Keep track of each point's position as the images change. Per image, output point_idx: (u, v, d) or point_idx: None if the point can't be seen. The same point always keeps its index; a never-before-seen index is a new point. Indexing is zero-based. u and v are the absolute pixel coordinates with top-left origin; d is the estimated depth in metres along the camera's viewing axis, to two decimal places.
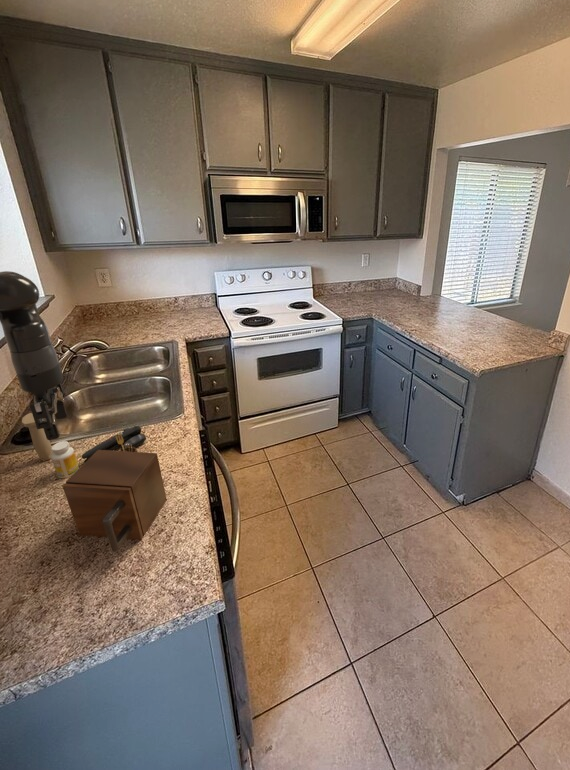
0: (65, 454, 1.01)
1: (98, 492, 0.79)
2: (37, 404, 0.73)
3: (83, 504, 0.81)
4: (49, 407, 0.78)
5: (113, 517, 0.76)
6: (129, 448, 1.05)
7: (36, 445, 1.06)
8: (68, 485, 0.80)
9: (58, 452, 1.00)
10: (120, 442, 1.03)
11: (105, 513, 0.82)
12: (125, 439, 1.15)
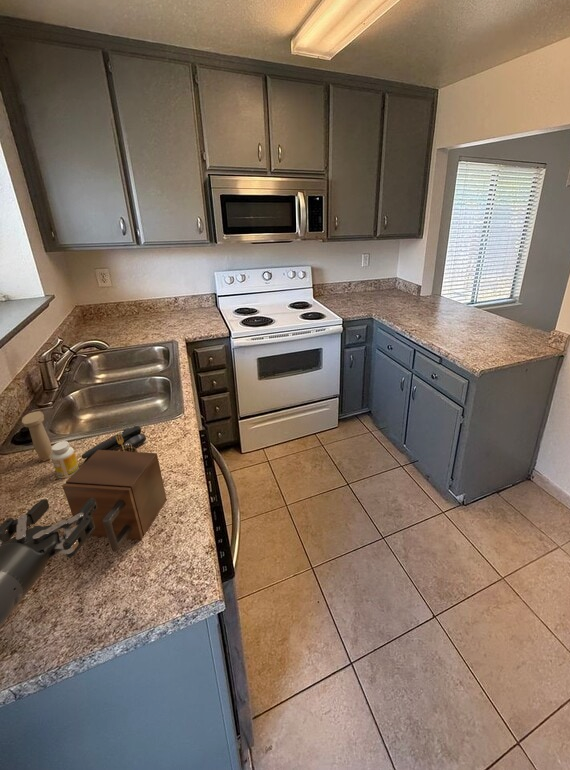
0: (65, 454, 1.01)
1: (98, 492, 0.79)
2: None
3: (83, 504, 0.81)
4: None
5: (113, 517, 0.76)
6: (129, 448, 1.05)
7: (36, 445, 1.06)
8: (68, 485, 0.80)
9: (58, 452, 1.00)
10: (120, 442, 1.03)
11: (105, 513, 0.82)
12: (125, 439, 1.15)
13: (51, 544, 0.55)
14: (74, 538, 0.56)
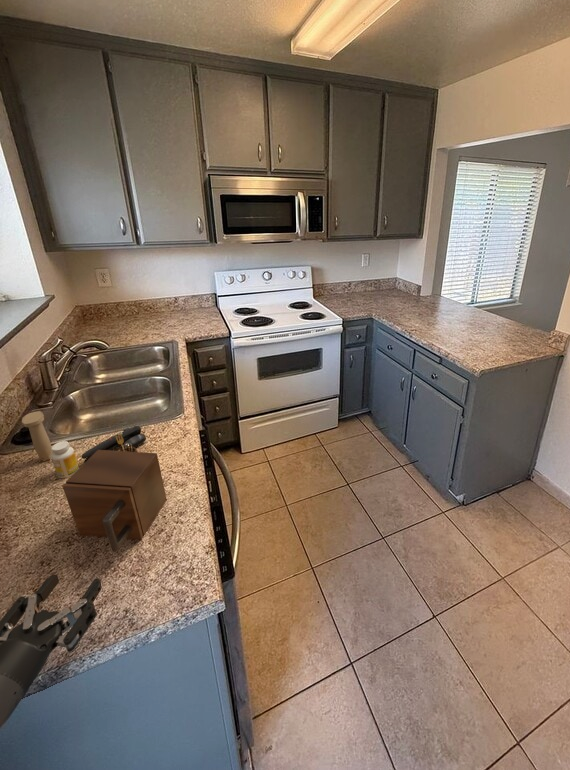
0: (65, 454, 1.01)
1: (98, 492, 0.79)
2: None
3: (83, 504, 0.81)
4: None
5: (113, 517, 0.76)
6: (129, 448, 1.05)
7: (36, 445, 1.06)
8: (68, 485, 0.80)
9: (58, 452, 1.00)
10: (120, 442, 1.03)
11: (105, 513, 0.82)
12: (125, 439, 1.15)
13: (53, 637, 0.58)
14: (74, 633, 0.58)
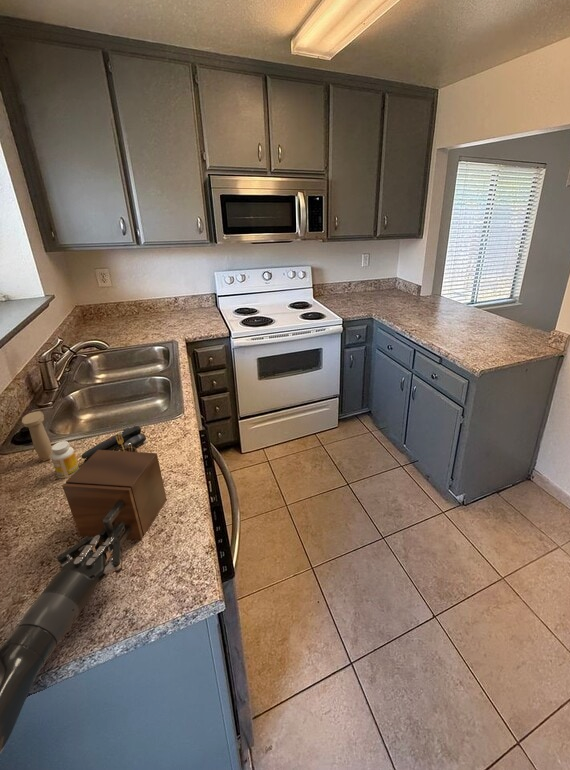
0: (65, 454, 1.01)
1: (98, 492, 0.79)
2: None
3: (83, 504, 0.81)
4: None
5: (113, 517, 0.76)
6: (129, 448, 1.05)
7: (36, 445, 1.06)
8: (68, 485, 0.80)
9: (58, 452, 1.00)
10: (120, 442, 1.03)
11: (105, 513, 0.82)
12: (125, 439, 1.15)
13: (100, 570, 0.68)
14: (119, 557, 0.71)
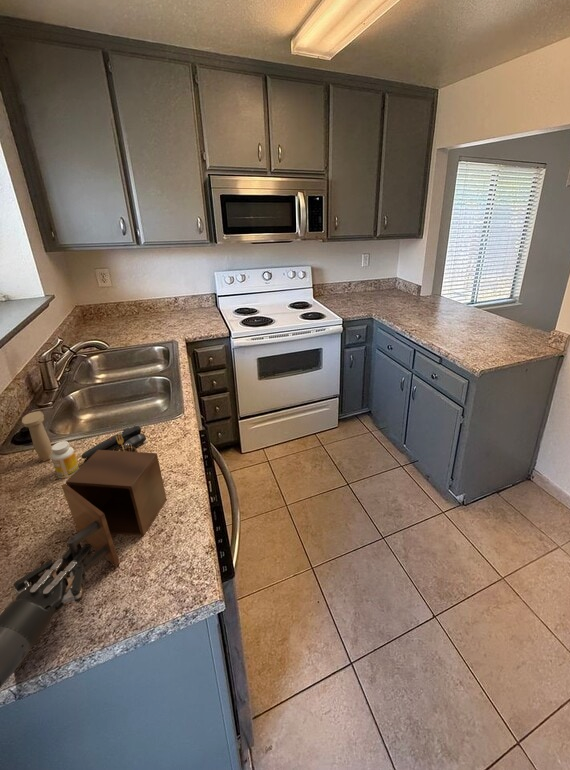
0: (65, 454, 1.01)
1: (82, 505, 0.76)
2: None
3: (76, 509, 0.80)
4: None
5: (79, 540, 0.71)
6: (129, 448, 1.05)
7: (36, 445, 1.06)
8: (65, 487, 0.79)
9: (58, 452, 1.00)
10: (120, 442, 1.03)
11: None
12: (125, 439, 1.15)
13: (57, 600, 0.63)
14: (79, 584, 0.66)
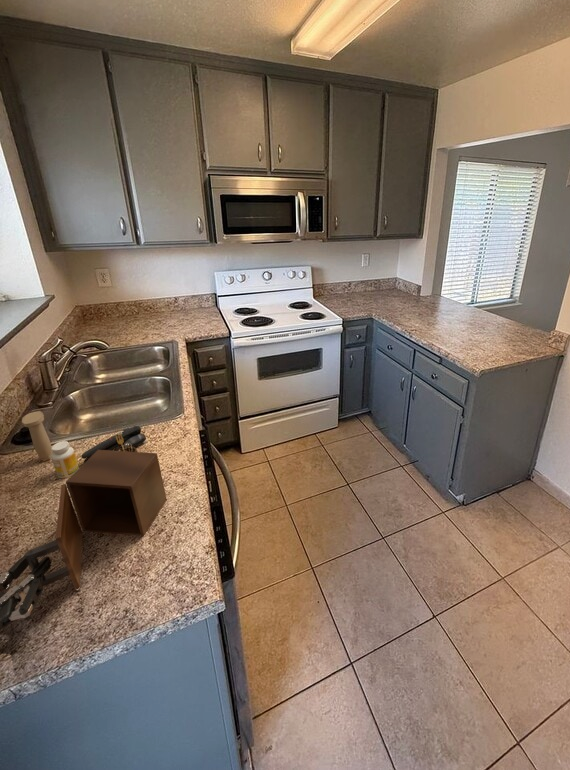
0: (65, 454, 1.01)
1: None
2: None
3: None
4: None
5: (36, 555, 0.68)
6: (129, 448, 1.05)
7: (36, 445, 1.06)
8: (62, 488, 0.79)
9: (58, 452, 1.00)
10: (120, 442, 1.03)
11: None
12: (125, 439, 1.15)
13: (4, 616, 0.61)
14: (29, 602, 0.63)
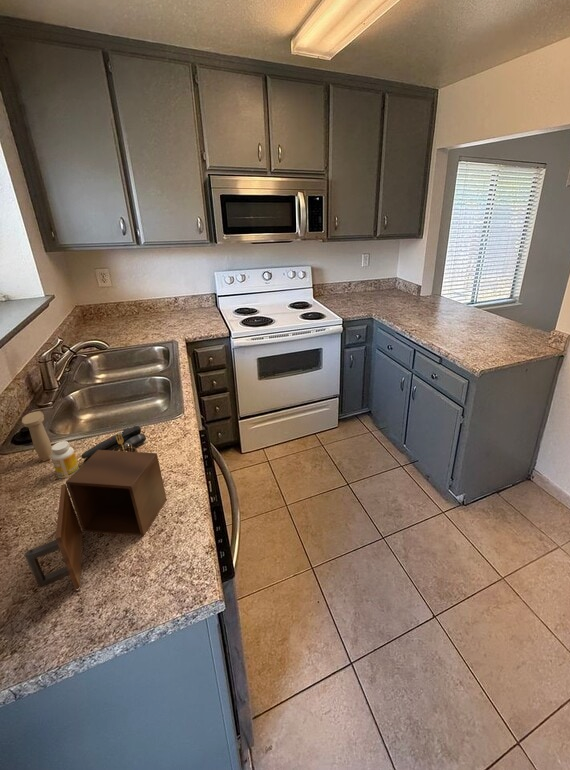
0: (65, 454, 1.01)
1: None
2: None
3: None
4: None
5: (36, 555, 0.68)
6: (129, 448, 1.05)
7: (36, 445, 1.06)
8: (62, 488, 0.79)
9: (58, 452, 1.00)
10: (120, 442, 1.03)
11: None
12: (125, 439, 1.15)
13: None
14: None
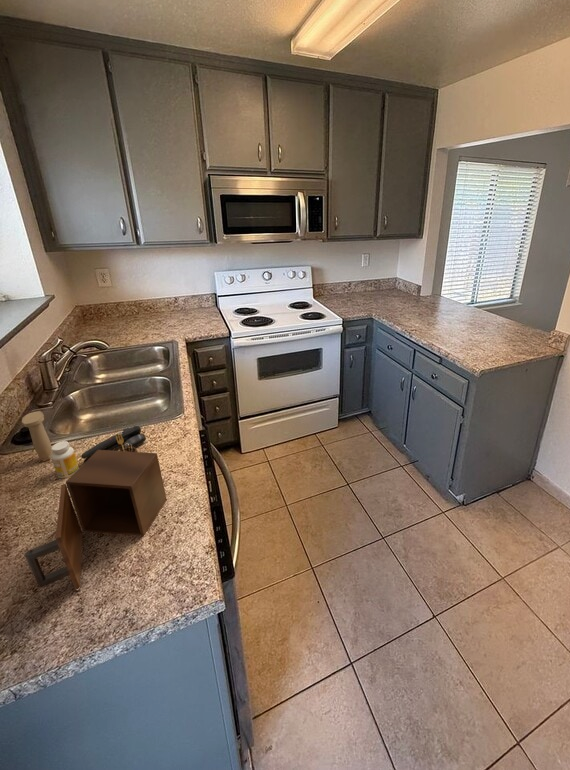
0: (65, 454, 1.01)
1: None
2: None
3: None
4: None
5: (36, 555, 0.68)
6: (129, 448, 1.05)
7: (36, 445, 1.06)
8: (62, 488, 0.79)
9: (58, 452, 1.00)
10: (120, 442, 1.03)
11: None
12: (125, 439, 1.15)
13: None
14: None
